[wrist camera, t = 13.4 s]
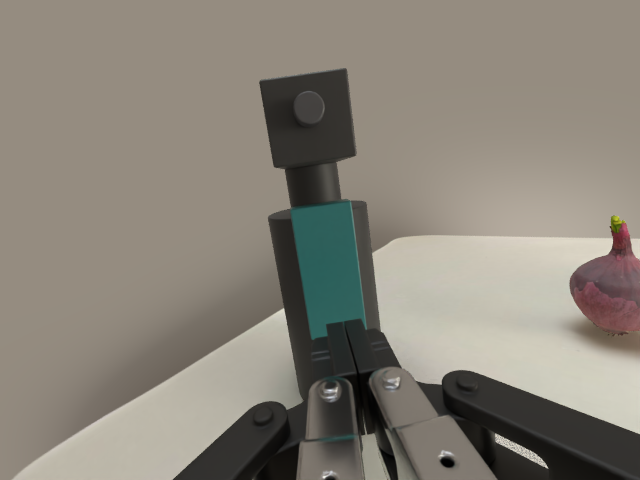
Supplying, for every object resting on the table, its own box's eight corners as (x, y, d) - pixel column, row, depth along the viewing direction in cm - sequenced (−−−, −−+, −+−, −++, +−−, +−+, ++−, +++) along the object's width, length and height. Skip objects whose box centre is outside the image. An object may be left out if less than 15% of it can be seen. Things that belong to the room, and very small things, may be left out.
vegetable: (634, 317, 28) (643, 206, 26) (694, 358, 22) (713, 220, 20) (555, 317, 30) (557, 213, 28) (591, 356, 24) (598, 228, 22)
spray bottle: (431, 488, 16) (395, 51, 12) (297, 511, 16) (209, 77, 12) (375, 349, 29) (347, 114, 24) (299, 361, 29) (257, 127, 24)
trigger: (367, 331, 17) (351, 200, 15) (311, 340, 17) (289, 209, 15) (363, 321, 18) (347, 198, 16) (310, 329, 18) (290, 206, 16)
